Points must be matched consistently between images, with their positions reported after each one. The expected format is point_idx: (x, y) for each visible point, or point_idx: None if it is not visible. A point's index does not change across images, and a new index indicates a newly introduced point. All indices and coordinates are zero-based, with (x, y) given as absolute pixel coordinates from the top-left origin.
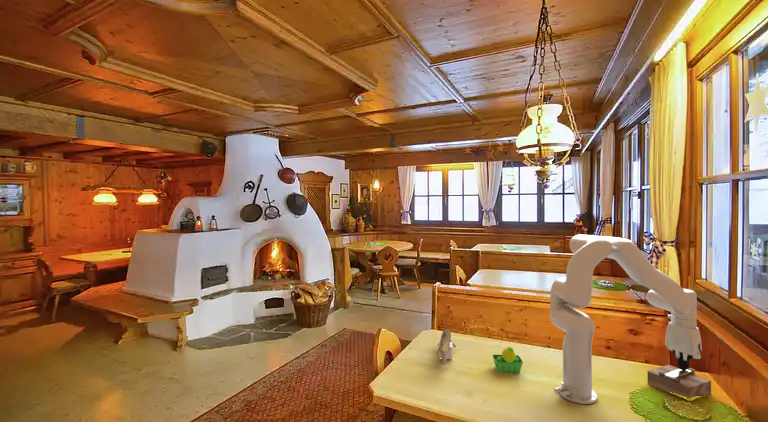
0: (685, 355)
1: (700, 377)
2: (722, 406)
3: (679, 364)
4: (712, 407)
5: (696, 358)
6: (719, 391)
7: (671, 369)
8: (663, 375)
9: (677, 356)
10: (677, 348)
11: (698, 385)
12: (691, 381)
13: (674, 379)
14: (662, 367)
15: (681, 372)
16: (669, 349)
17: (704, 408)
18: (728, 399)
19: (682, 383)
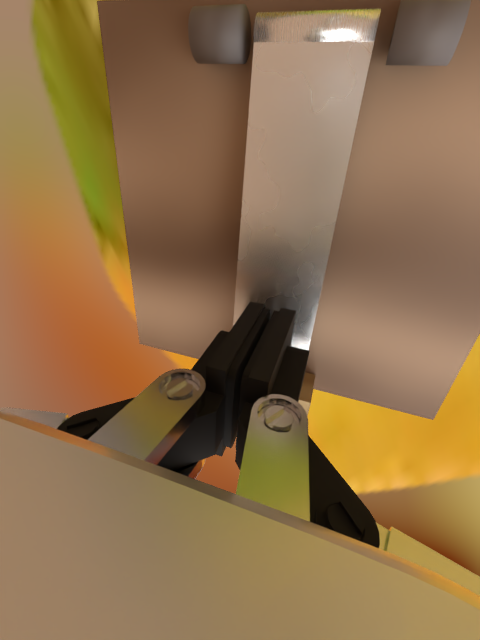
0: (134, 431)
1: (188, 343)
2: (90, 198)
3: (274, 332)
4: (93, 127)
5: (23, 414)
6: (183, 360)
7: (382, 334)
8: (391, 38)
9: (285, 419)
10: (141, 560)
11: (123, 187)
12: (174, 207)
13: (235, 5)
14: (470, 317)
15: (261, 270)
16: (452, 564)
17: (94, 53)
18: (127, 306)
19: (180, 60)
